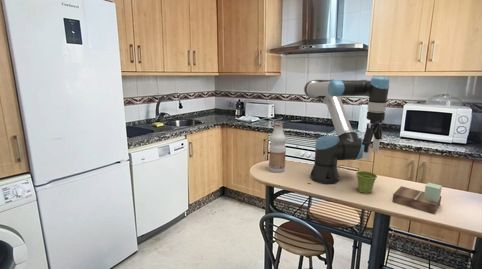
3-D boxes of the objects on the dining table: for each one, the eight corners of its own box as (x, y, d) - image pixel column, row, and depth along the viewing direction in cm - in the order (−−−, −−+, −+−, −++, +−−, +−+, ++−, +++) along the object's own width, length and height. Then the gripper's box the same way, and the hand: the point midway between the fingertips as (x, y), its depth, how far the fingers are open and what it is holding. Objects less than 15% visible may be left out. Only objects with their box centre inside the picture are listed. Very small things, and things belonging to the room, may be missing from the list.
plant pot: (372, 188, 142) (374, 171, 140) (377, 196, 133) (379, 178, 131) (353, 186, 144) (354, 170, 142) (356, 194, 135) (357, 177, 133)
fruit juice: (272, 173, 162) (273, 125, 156) (266, 168, 170) (267, 122, 164) (287, 172, 164) (289, 124, 158) (281, 167, 173) (282, 122, 167)
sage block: (423, 198, 121) (425, 185, 120) (426, 195, 125) (428, 182, 123) (437, 202, 118) (439, 189, 116) (439, 198, 121) (441, 185, 120)
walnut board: (392, 201, 127) (393, 193, 126) (400, 193, 135) (401, 186, 134) (434, 214, 116) (436, 205, 115) (440, 204, 125) (441, 196, 124)
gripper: (376, 115, 118) (369, 163, 123) (392, 109, 136) (386, 151, 141) (357, 113, 123) (352, 159, 128) (376, 107, 141) (370, 148, 146)
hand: (370, 155), depth 135 cm, fingers open, 13 cm apart
